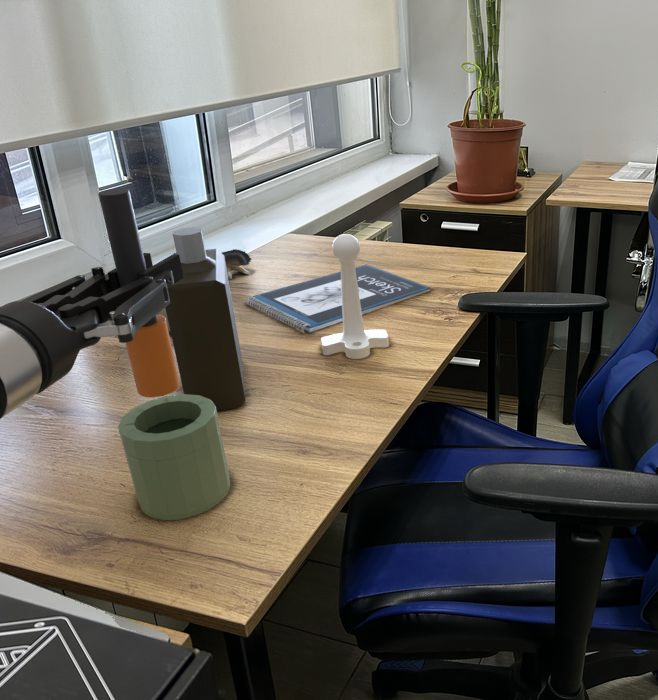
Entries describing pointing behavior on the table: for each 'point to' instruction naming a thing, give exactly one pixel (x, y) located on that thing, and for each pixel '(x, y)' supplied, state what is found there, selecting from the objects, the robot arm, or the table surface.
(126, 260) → the brush
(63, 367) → the robot arm
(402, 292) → the sketchbook
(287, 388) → the table surface
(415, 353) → the table surface
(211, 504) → the sage green tumbler
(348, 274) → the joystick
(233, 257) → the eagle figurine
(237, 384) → the bottle
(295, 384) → the table surface
